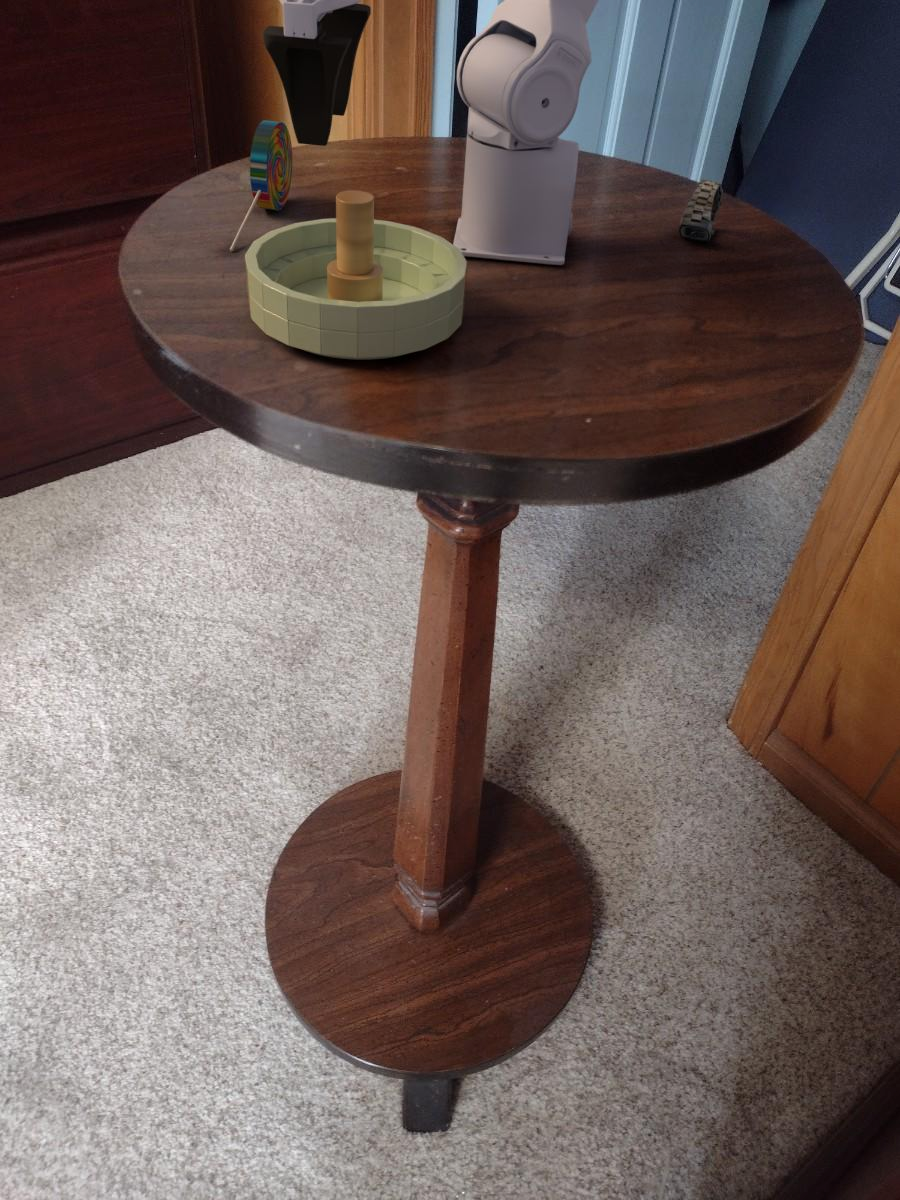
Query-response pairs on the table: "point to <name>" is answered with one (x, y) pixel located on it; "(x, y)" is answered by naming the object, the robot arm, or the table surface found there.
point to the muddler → (355, 251)
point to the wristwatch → (701, 212)
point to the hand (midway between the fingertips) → (322, 128)
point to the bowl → (346, 328)
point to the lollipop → (269, 168)
